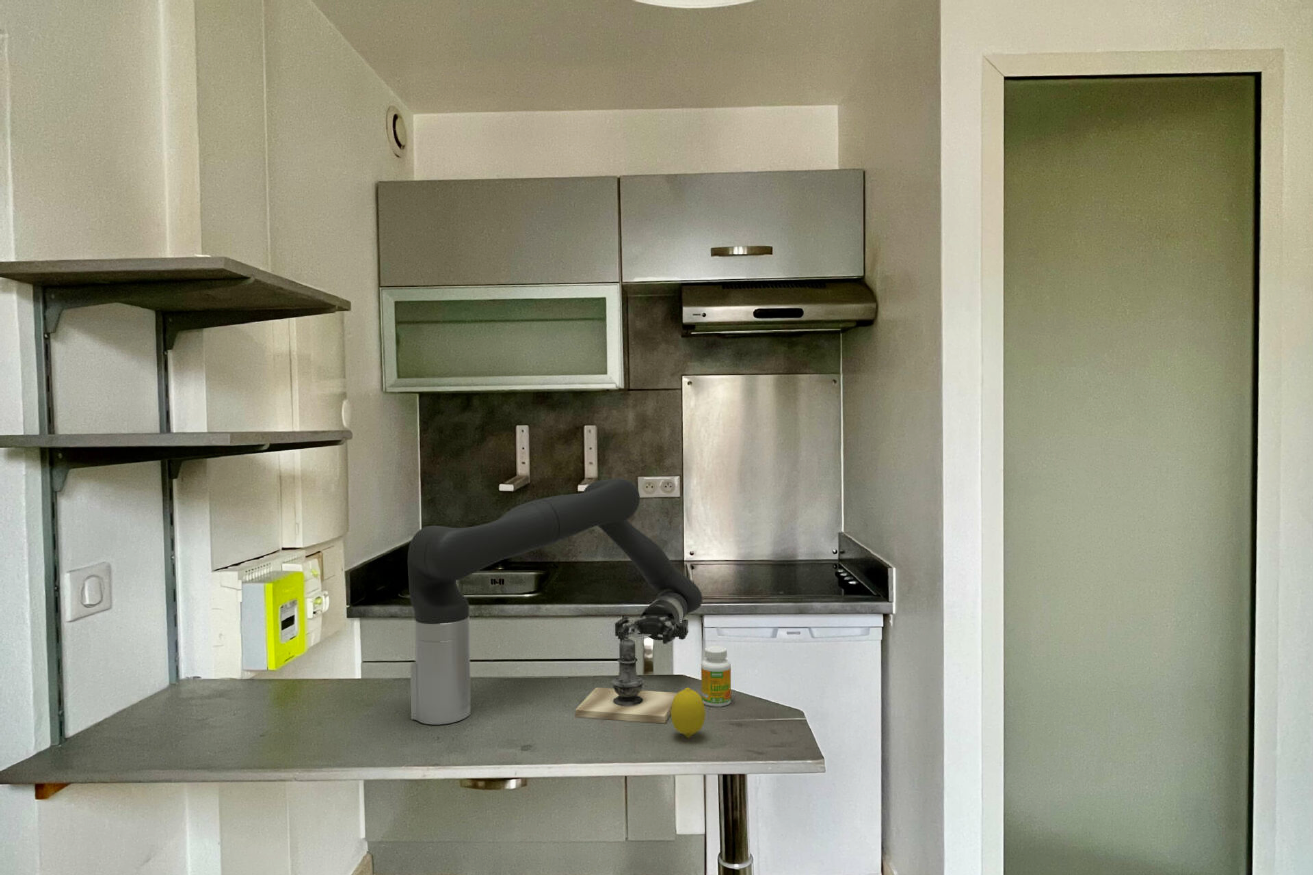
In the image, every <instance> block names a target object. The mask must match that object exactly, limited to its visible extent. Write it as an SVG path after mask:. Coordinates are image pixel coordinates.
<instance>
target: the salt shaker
mask: <svg viewBox="0 0 1313 875" xmlns="http://www.w3.org/2000/svg"><path fill="white" fill-rule="evenodd" d="M625 637H626V639H624V640H622V641H621V642H620V641H619V644H618V645H619V647H618V648H619V650H618V651H619V658H617V663H618V665H619V666H618V676H617V677H615V678H613V679H611V684H612V685H613V686H612V687H613V689H614V690H615V692H616V693H617V694H618V695H619V696H618V697H616V698H615V699H614V700H613V702H614V703H615V704H617V705H620V706H634V705H638V704H640V703H642V702H643V699H642V698H641V697H639V696H638V694H639V693H640V691H642V688H643V684H644V683H645V680H644V678H642V677H640V676H638V674H637V673H638V672H637V662H638V658H636V642H635V641H634V640H633V639H631V638H629V636H628V634H627V635H626V636H625Z"/></svg>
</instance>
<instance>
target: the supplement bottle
mask: <svg viewBox="0 0 1313 875" xmlns="http://www.w3.org/2000/svg"><path fill="white" fill-rule="evenodd" d="M727 655H728V653H727V648H726V647H723V646H717V645H715V646H711V645H710V646H708V647H705V648H704V657H705V659H704V660H702V662H701V664H700V665H701V667H700V671H701V672H700V674H701V676H700V680H701V682H700V683H701V686H700V687H701V688H700V689H701V698H702V700H703V703H704V706H705V705H706V706H709V707H714V708H719V707H720V708H721V707H724V706H728V705H730V703H731V702H732V679H731V678H732V673H731V671H732V668H731V662H730V661H729V660H728V659H727V657H728V656H727Z"/></svg>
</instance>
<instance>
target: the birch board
mask: <svg viewBox="0 0 1313 875" xmlns="http://www.w3.org/2000/svg"><path fill="white" fill-rule="evenodd" d="M678 693H679V692H670V691H669V692H667V691H653V690H641V691H640V693H639V694H638V696H639V697H641V698H642V699H643V702H642V703H640V704H638V705H634V706H620V705H617V704H615V703H614V702H613V700H614V699H615V698H616V697H618V696H619V695H618V694H617V693H616V692H615V690H614V688H610V687H609V688H606V687H595V688H594V689H593V690H592V691H591V692H590V693H589V694H588V695H587V697H586V698H585V699H584V700H582V702H581V703H580V704H579V705H578V706H577V707H576V708H575V710H574V714H575V715H574V717H576V718H585V719H586V718H587V719H601V720H614V721H615V720H616V721H625V722H626V721H627V722H628V721H629V722H639V723H640V722H641V723H654V724H666V722H667V721H668V719H669V717H670V716H671V707H672V702H673V699H674V697H675V696H676V695H677V694H678Z"/></svg>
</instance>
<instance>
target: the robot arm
mask: <svg viewBox="0 0 1313 875" xmlns="http://www.w3.org/2000/svg"><path fill="white" fill-rule="evenodd" d="M638 489H639V488H637V486H636V485H635V484H634V483H633V482H631V481H629V480H627V479H624V478H619V477H617V478H608V479H601V480H596V481H592V482H591V483H589V484H588V485H587V486H586V487H585V488H584V491H583V492H580V493H570V494H562V495H561V494H560V495H555V496H548V497H544V498H543V497H542V498H539V499H534V500H531V501H529V502H525V503H522V504H520V505H519V504H518V505H517V506H514V507H513V508H511V509H510V510H508V511H507V512H506V513H504V514H503V515H502V516H501V517H499V518H498V519H496V520H493V521H491V522H488V523H483V524H479V525H475V526H474V525H473V526H468V527H449V526H443V525H442V526H441V525H428V526H424V527H422V528H421V529H419V530H418V531H417V532H416V533H415V534H414V536H412V538H411V541H410V544H409V546H408V551H407V571H408V572H407V574H408V591H409V592H408V593H409V600H410V604H411V606H412V609H413V611H414V639H415V640H414V642H415V644H414V645H415V646H414V647H415V661H414V662H412V663H411V664H410V720H416V721H417V722H420V723H422V724H425V725H447V724H452V723H456V722H459V721H462V720H464V719H466V718H467V717H469V716H470V715H471V703H472V702H471V660H470V659H471V654H470V653H471V652H470V650H471V649H470V647H471V645H470V642H471V641H470V639H471V638H470V637H471V636H470V604H469V601H468V599H467V598H466V597H465V596H464V594H462V592H461V591H460V589H459V586H458V585H457V581H459V580H461V579H464V578H466V577H469V576H470V575H473V574H476V573H477V572H479V571H480V570H483V569H485V568H487V567H488V566H491V565H493V564H496V563H498V562H500V561H502V560H506V559H510V558H514V557H517V556H520V555H523V554H527V553H529V552H532V551H536V550H539V549H543V548H545V547H549V546H551V545H554V544H556V543H558V542H561V541H564V540H567V539H568V538H571V537H574V536H576V535H578V534H580V533H583V532H585V531H587V530H590V529H592V528H596V527H599V529H600V530H602V531H603V532H604V533H605V535H607V537H609V538H610V539H611V541H613V542H614V543H615V544H616V546H618V547H619V548H620V550H621V551H623V553H625V555H626V556H627V557H628V558H629V559H630V561H632V563H633V565H635V568H637V570H638V571H639V572H640V574H641V575H642V577H643V578H644V579H645V581H646V582H647V584H648V585H649V586H650V587H651V588H652V590H654V591H657V592H658V591H661V592H659V593H658V594H657V595H656V597H655V598H656V599H655V600H654V601H652V602H651V603H650V604H649V605H648V606H647V607H646V608H645V609H644V610H643V611H642V613H641V615H640V617H638V618H633V619H631V620H630V617H628V616H623V617H622V618H621V619H619V620H618V621H616V622H615V623H614V636H615V637H617V639H618V640H619V643H620V642H621V641H622V640H624V639H626V637H625V636H626V635H627V634H628V636H629V637H633V638H636V639H638V638H642V637H648V638H650V639H651V640H653V641H654V640H655V641H662V644H664V645H667V644H668V643H670V642H672V641H675V640H676V638H678V640H680V641H682V640H685V639H686V638H687V636H688V633H689V620H688V619H686V618H685V617H686V615H688V614H691V613H693V612H695V611H696V610H698V609H699V608H700V607H702V604H703V595H702V591H701V590H700V588H699V587H698V586H697V584H696V583H695V582H693V580H691V579H690V578H688V577H687V576H686V575H685V574H684V573H682V572H681V571H680V570H678V569H677V568H676V567H675V566H674V564H673V563H672V561H671V560H670V558H669V557H668V555H667V554H666V553H665V551H664V549H662V548H661V547H660V545H659V544H657V543H656V542H655V541H653V539H652V538H650V537H648V536H647V535H646V534H644V533H643V532H642V531H640V530H639V529H638V528H637V527H635V525H633V524H632V523H631V522H630V521H629V520H628V519H631V518H632V516H634V515H635V513H636V512H637V510H638V508H639V505H640V501H641V500H640V499H641V497H640V496H641V495H640V491H639V490H638ZM629 637H628V638H629Z"/></svg>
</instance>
